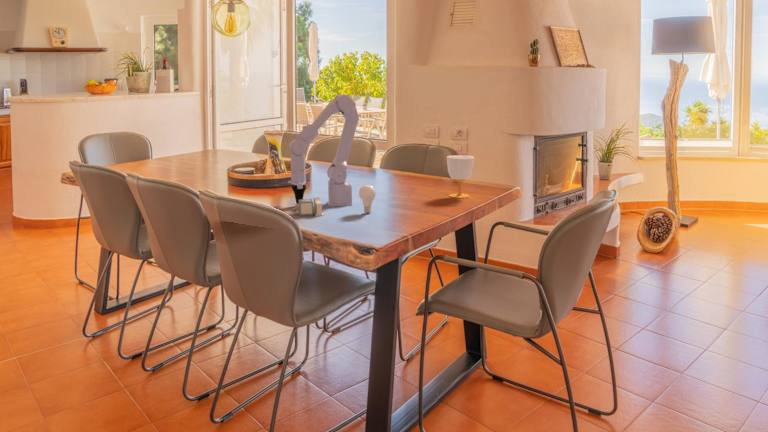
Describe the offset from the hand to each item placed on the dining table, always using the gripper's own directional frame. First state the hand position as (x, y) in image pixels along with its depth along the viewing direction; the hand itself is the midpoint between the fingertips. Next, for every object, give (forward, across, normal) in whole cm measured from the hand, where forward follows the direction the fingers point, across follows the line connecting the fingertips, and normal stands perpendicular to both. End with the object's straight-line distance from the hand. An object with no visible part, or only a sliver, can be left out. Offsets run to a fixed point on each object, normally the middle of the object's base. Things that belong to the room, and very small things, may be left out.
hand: (299, 203), depth 254 cm
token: (+1, +6, 0) cm, 7 cm away
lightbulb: (+1, +18, +24) cm, 30 cm away
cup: (+1, -7, +70) cm, 70 cm away
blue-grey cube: (+1, +16, +1) cm, 16 cm away
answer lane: (+1, +8, 0) cm, 9 cm away
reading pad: (+1, +16, +1) cm, 16 cm away
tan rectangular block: (+1, +14, +6) cm, 15 cm away
